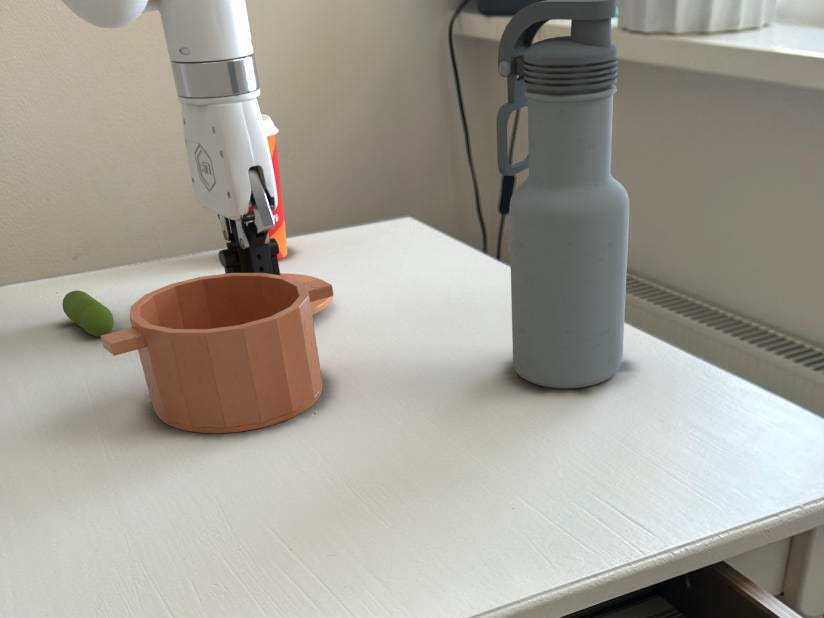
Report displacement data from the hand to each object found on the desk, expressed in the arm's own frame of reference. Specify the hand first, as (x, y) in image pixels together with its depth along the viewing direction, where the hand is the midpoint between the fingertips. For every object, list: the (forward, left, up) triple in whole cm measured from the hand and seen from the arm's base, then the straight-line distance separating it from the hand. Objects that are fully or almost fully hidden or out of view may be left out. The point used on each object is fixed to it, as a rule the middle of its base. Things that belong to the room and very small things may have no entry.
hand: (254, 281), depth 101 cm
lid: (0, 0, -2) cm, 2 cm away
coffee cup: (+10, +19, -4) cm, 22 cm away
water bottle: (+14, -33, -4) cm, 36 cm away
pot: (-11, -18, -3) cm, 21 cm away
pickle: (-15, +9, -4) cm, 18 cm away
